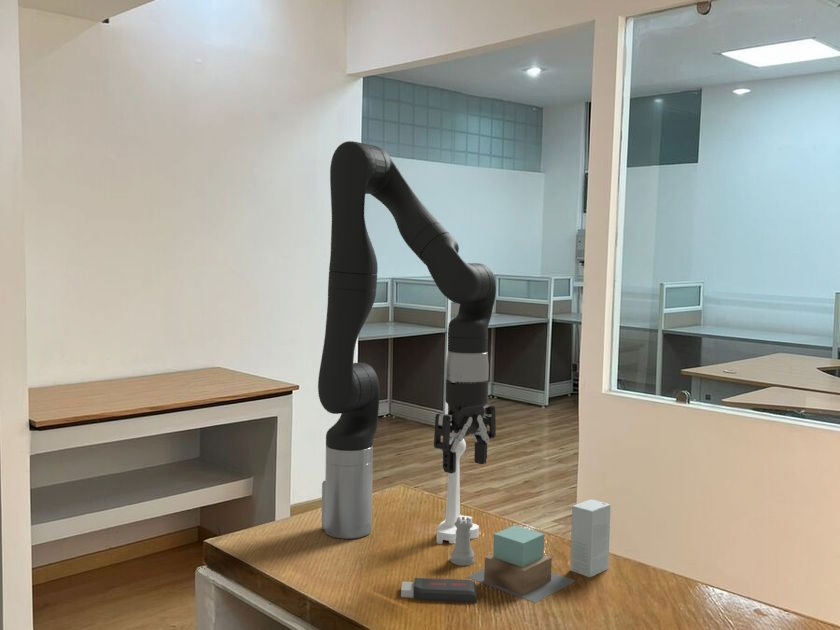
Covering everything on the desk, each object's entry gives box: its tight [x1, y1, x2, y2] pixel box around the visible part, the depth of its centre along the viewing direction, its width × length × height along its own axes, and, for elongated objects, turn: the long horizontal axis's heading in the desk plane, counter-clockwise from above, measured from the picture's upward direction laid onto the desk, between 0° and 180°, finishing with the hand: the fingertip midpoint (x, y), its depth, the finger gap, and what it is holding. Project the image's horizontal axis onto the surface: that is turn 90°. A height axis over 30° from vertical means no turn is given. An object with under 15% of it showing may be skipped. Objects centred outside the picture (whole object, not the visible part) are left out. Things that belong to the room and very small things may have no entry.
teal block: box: [492, 525, 545, 567], centre depth 130 cm, size 6×6×4 cm
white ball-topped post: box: [436, 438, 480, 545], centre depth 152 cm, size 11×8×20 cm
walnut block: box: [483, 553, 553, 595], centre depth 131 cm, size 8×8×4 cm
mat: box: [466, 568, 576, 604], centre depth 132 cm, size 14×12×1 cm
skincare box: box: [570, 498, 611, 578], centre depth 136 cm, size 6×4×12 cm
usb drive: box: [400, 577, 478, 604], centre depth 125 cm, size 5×12×3 cm, turn 88°
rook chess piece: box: [449, 517, 476, 566], centre depth 139 cm, size 4×4×8 cm
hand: (465, 467), depth 138 cm, fingers open, 8 cm apart
